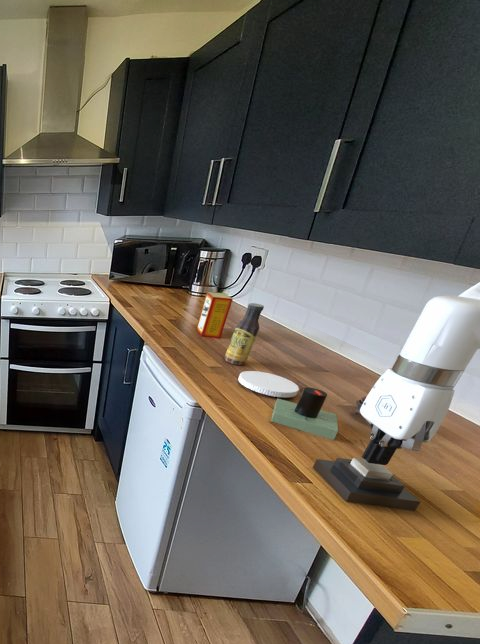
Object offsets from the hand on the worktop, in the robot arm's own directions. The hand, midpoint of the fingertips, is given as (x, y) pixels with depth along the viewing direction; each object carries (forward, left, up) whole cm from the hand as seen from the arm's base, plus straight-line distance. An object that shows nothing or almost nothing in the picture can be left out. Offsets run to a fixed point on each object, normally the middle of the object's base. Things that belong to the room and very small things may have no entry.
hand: (373, 461), depth 74 cm
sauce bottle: (+22, -59, -6) cm, 63 cm away
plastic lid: (+14, -41, -6) cm, 44 cm away
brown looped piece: (-10, -37, -6) cm, 39 cm away
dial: (+7, -24, -4) cm, 25 cm away
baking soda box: (+32, -88, -6) cm, 94 cm away
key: (0, 0, -3) cm, 3 cm away
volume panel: (+7, -24, -6) cm, 26 cm away
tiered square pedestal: (0, 0, -6) cm, 6 cm away
